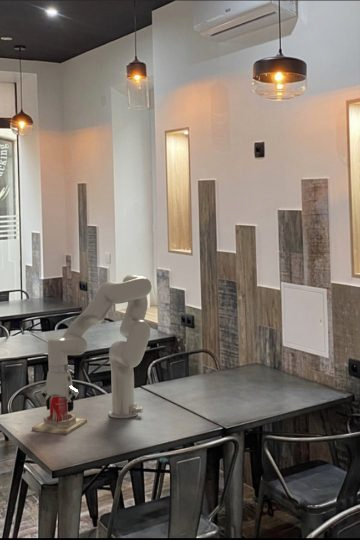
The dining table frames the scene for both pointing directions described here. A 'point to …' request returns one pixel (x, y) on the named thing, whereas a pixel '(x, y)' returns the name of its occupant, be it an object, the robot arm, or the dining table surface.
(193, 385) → the dining table surface
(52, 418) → the soda can
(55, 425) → the drink holder
